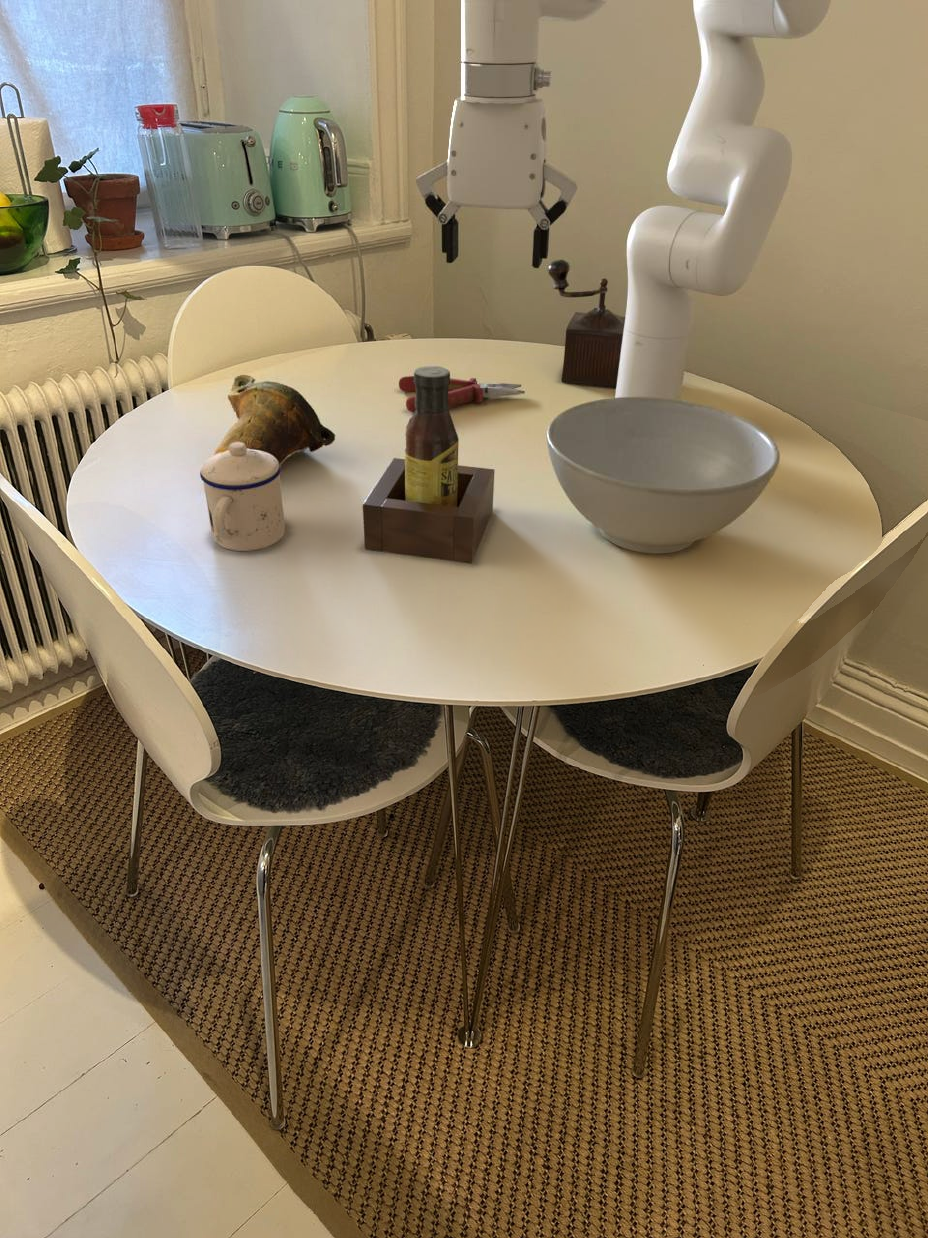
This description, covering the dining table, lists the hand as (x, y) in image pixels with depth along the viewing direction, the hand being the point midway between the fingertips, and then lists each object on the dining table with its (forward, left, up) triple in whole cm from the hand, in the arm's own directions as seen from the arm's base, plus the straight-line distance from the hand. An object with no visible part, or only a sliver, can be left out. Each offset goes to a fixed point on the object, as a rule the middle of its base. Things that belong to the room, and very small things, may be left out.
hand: (494, 262), depth 98 cm
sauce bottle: (+5, +10, -30) cm, 32 cm away
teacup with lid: (+26, +18, -30) cm, 43 cm away
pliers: (+11, -32, -30) cm, 45 cm away
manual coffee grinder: (-7, -51, -30) cm, 60 cm away
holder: (+5, +10, -30) cm, 31 cm away
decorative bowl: (-21, +3, -30) cm, 37 cm away
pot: (+32, -4, -30) cm, 44 cm away
